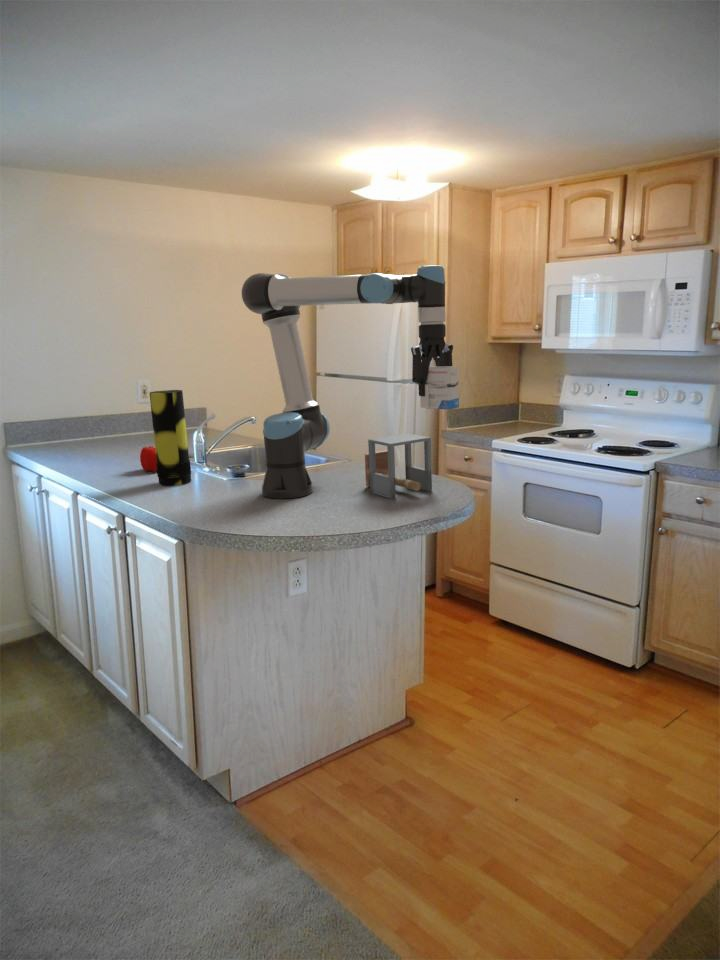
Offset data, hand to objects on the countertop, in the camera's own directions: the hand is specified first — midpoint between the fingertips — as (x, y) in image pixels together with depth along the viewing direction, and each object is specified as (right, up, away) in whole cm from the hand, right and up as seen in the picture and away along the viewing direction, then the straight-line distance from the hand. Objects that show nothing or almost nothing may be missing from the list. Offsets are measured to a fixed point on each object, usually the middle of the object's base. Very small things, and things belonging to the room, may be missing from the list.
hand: (433, 406), depth 201 cm
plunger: (-10, -24, +7) cm, 27 cm away
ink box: (+2, -1, -2) cm, 3 cm away
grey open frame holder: (-9, -24, +6) cm, 27 cm away
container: (-82, -22, +31) cm, 90 cm away
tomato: (-94, -18, +52) cm, 109 cm away
